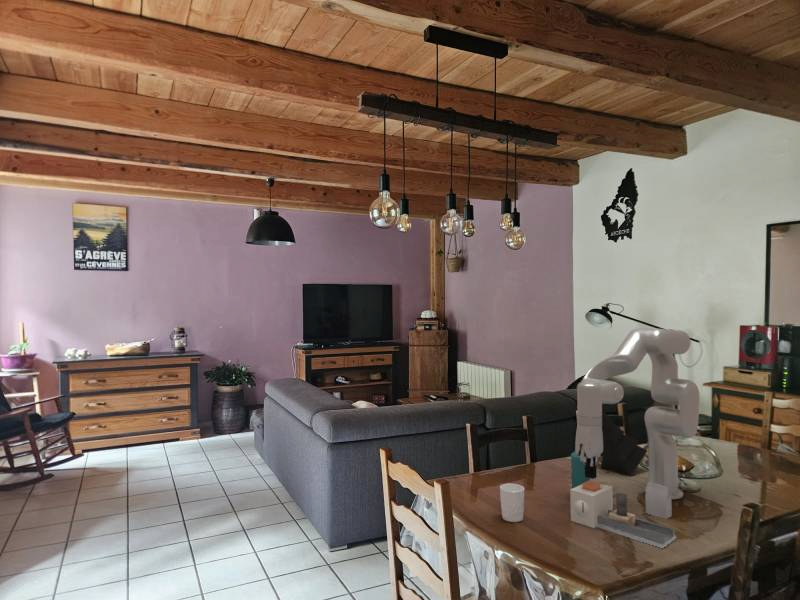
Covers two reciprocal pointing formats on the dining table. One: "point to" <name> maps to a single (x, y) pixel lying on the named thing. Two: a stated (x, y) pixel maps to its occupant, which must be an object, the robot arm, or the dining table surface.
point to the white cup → (512, 502)
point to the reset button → (591, 486)
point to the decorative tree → (619, 449)
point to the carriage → (622, 511)
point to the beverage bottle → (577, 470)
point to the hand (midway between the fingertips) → (590, 477)
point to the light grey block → (658, 500)
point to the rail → (639, 530)
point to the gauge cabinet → (590, 504)
